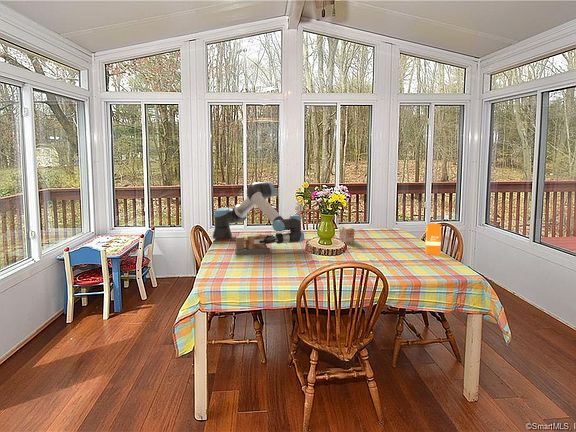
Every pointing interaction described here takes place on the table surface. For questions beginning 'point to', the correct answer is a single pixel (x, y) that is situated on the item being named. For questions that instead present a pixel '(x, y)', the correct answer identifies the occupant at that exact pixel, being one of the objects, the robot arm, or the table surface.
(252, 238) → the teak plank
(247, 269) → the table surface
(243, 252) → the base rail
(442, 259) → the table surface
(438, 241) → the orange juice
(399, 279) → the table surface
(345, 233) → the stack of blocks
